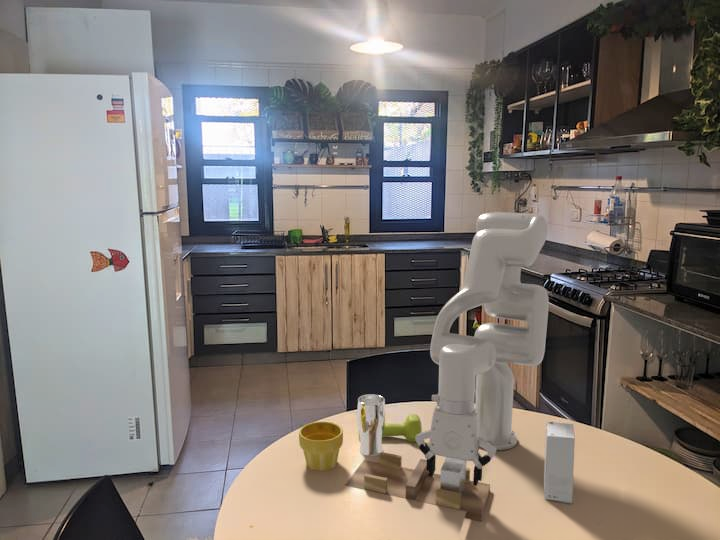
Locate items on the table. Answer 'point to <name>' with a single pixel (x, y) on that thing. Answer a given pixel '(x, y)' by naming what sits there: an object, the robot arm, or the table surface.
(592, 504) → the table surface
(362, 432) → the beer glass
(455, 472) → the grey rectangular block
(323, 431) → the plant pot
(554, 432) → the skincare box
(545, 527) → the table surface
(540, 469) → the table surface
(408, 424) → the dumbbell
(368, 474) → the board
